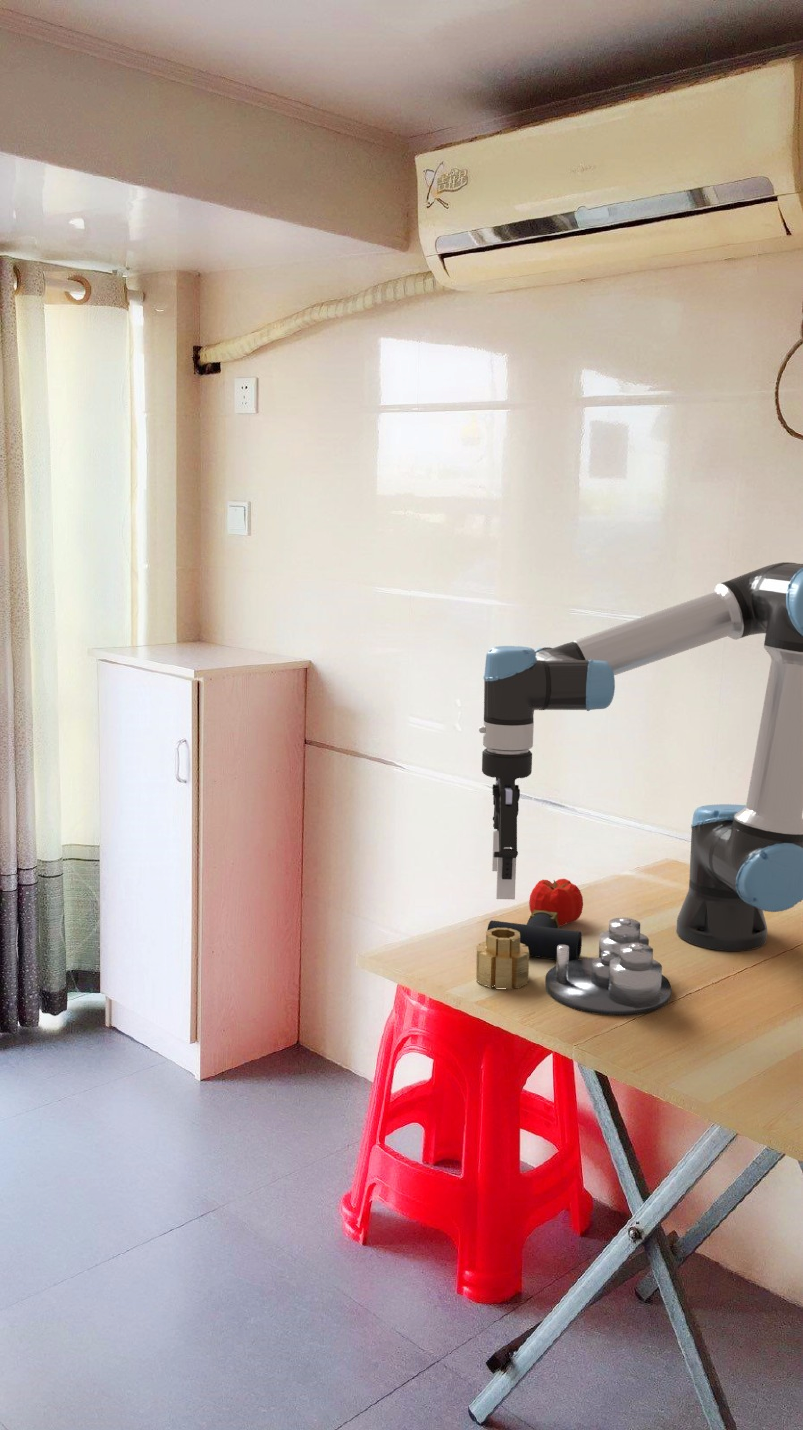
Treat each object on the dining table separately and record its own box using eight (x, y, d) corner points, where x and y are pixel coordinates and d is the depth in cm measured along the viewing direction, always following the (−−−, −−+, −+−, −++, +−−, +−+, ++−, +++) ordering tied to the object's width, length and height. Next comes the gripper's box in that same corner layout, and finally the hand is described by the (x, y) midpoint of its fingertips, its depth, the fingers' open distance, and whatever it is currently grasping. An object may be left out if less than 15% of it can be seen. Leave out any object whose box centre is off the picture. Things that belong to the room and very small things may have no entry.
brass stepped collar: (525, 970, 186) (527, 925, 184) (529, 990, 178) (530, 943, 177) (475, 969, 186) (476, 924, 185) (477, 989, 178) (478, 942, 177)
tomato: (524, 928, 204) (526, 887, 203) (535, 912, 213) (536, 872, 211) (577, 934, 202) (579, 893, 200) (586, 918, 210) (587, 878, 209)
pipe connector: (503, 902, 202) (589, 913, 198) (502, 931, 203) (588, 942, 199) (486, 925, 192) (576, 937, 187) (485, 956, 193) (575, 968, 188)
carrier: (658, 966, 188) (660, 911, 186) (682, 1017, 169) (685, 956, 167) (540, 964, 188) (541, 909, 186) (551, 1014, 169) (553, 953, 168)
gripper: (479, 733, 188) (476, 859, 192) (485, 766, 163) (481, 910, 167) (526, 734, 188) (521, 860, 191) (539, 767, 163) (533, 912, 167)
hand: (503, 884), depth 179 cm, fingers open, 13 cm apart
